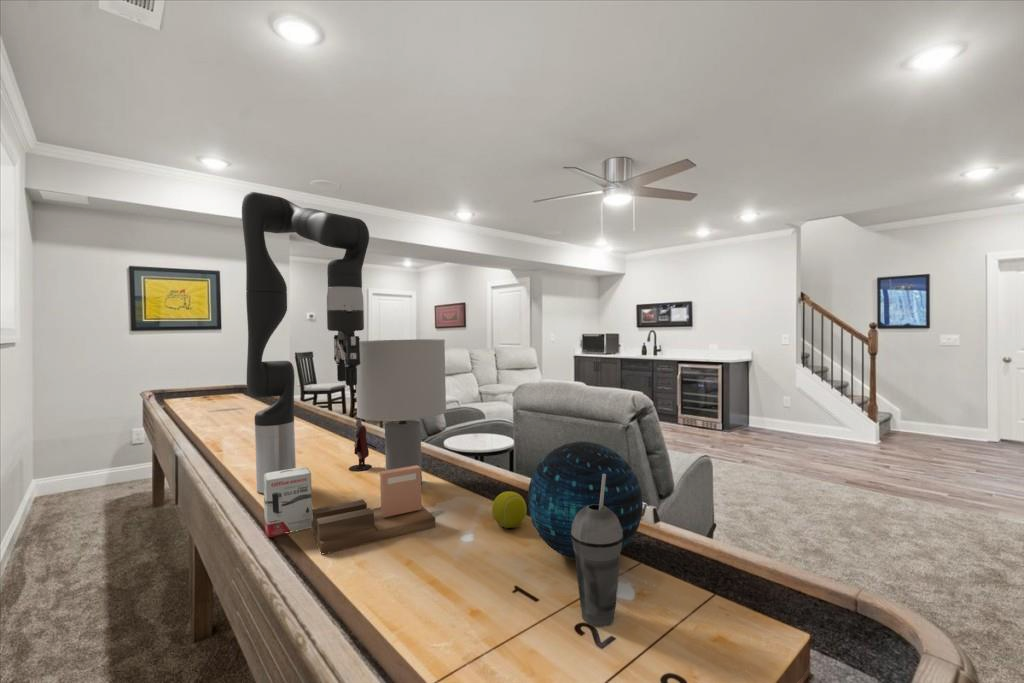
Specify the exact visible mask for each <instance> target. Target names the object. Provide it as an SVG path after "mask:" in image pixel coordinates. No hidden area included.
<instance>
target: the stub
mask: <svg viewBox="0 0 1024 683" xmlns="http://www.w3.org/2000/svg"><path fill="white" fill-rule="evenodd" d="M379 476H380V478H379V481H380V482H379V483H380V507H381V515H382V516H383V517H389V516H393V515H398V514H402V513H407V512H412V511H416V510H421V505H422V485H421V474H420V467H419V466H418V465H416V466H410V467H404V468H398V469H392V470H386V469H385V470H381V471H379Z"/></svg>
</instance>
